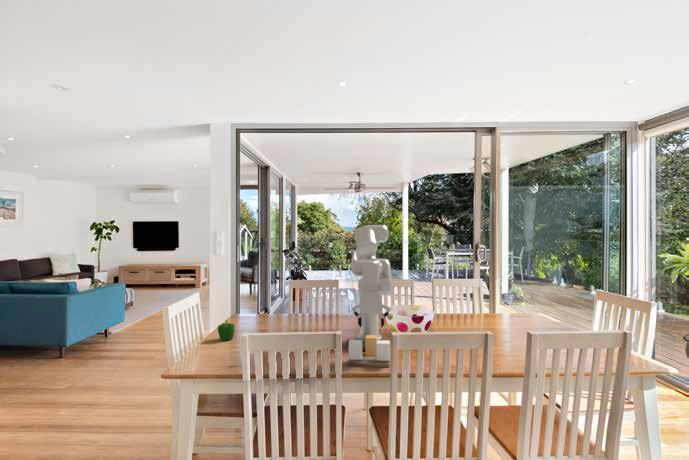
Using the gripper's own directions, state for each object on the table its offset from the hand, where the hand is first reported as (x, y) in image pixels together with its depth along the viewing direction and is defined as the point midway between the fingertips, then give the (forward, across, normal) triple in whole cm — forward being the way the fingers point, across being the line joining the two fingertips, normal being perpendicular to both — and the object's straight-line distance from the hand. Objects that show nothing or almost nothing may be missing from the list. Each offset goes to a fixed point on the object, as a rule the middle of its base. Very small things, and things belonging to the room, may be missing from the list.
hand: (371, 326), depth 189 cm
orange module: (+13, 0, -1) cm, 13 cm away
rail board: (+13, 0, +10) cm, 17 cm away
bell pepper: (+12, +76, -19) cm, 79 cm away
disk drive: (+13, +7, -12) cm, 19 cm away
